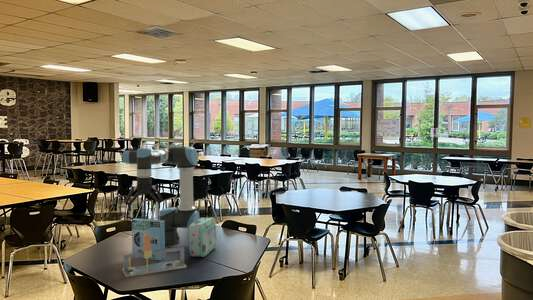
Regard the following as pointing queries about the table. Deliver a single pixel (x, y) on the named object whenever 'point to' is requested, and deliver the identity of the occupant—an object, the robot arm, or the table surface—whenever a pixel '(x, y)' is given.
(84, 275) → the table surface
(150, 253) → the cursor
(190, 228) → the lunch box
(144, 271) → the plate
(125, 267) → the clear acrylic panel
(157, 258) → the gum box
